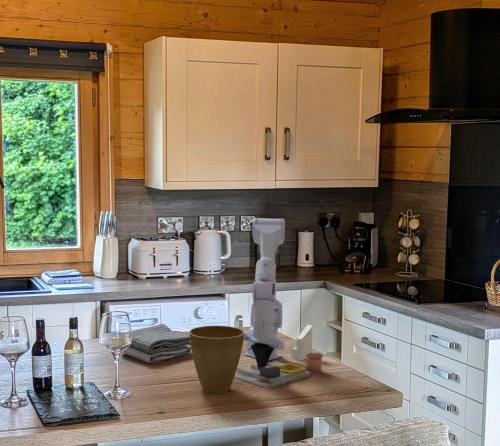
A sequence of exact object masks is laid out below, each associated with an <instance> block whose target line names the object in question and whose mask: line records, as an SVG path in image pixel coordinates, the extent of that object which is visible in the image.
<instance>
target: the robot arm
mask: <svg viewBox="0 0 500 446" xmlns="http://www.w3.org/2000/svg"><path fill="white" fill-rule="evenodd" d="M251 229H252V231H251V234H252V239H253V241H254V244H256V245H259V247H260V259H258V260H257V262H256V264H255V275H254V276H255V277H254V281H253V283H252V293H251V294H252V303H251V308H250V326H251V327H250V328H249V329H248V331H247V332H245V334H244V340H243V341H246V352H245V353H244V355H245V356H249V357H251V358H255V361H256V365H257V366H258V370H260V366H264V365H267V364H268V363H269V361H270V360H275V359H279V358H282V357H284V355H283V354H282V353H278V351H281V350H284V349H285V342H283V341H281V340H279V339H278V338H279V337H278V336H279V335H278V334H279V332H278V330H279V329H281V328H282V326H283V304H282V302H281V301H279V300H278V299H277V280H276V274H277V273H276V271H277V270H276V269H277V268H276V267H277V264H276V251H277V248H278V246H280V245H283V244H284V241H285V233H286V232H285V231H286V230H285V229H286V220H285V219H284V218H268V217H267V218H265V217H264V218H261V217H260V218H258V217H254V218H253V219H252V228H251Z"/></svg>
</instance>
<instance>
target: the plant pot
mask: <svg viewBox="0 0 500 446" xmlns="http://www.w3.org/2000/svg"><path fill="white" fill-rule="evenodd" d="M188 333H189V337H190V342H191V345H190V346H191V355H192V359H193V363H194V365H195V366H194V367H195V371H196V374H197V377H198V381H199V383H200V386H201V388H202V390H203V391H204V392H205V393H206V392H207V393H210V394H221V393H227V392H229V390H230V389H231V387H232V384H233V381H234V378H235V377H234V376H235V373H236V372H237V368H239V362H240V359H241V356H242V355H241V354H242V349H243V345H244V341H245V340H244V334H245V333H246V332H245V330H243V329H242V328H239V327H234V326H228V325H205V326H204V325H203V326H197V327H194V328H191V329H190V330H189V332H188Z"/></svg>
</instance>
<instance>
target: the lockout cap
mask: <svg viewBox="0 0 500 446" xmlns="http://www.w3.org/2000/svg"><path fill="white" fill-rule="evenodd" d="M323 355H324V354H323V353H320V352H312V353H308V354H307V357H308V358H307V371H309V372H311V374H320V373H321V372H322V359H323V357H324V356H323Z"/></svg>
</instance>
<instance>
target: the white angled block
mask: <svg viewBox="0 0 500 446" xmlns="http://www.w3.org/2000/svg"><path fill="white" fill-rule="evenodd" d="M312 348H313V325H311V324H307V325H306V326H305V328H304V329H303V330H302V331H301V332H300V334H299V335H298V336H297V337H296V347H292V348H291V360H295V361H296V360H297V361H303V360H308V357H307V354H308V353H313V349H312Z"/></svg>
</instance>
